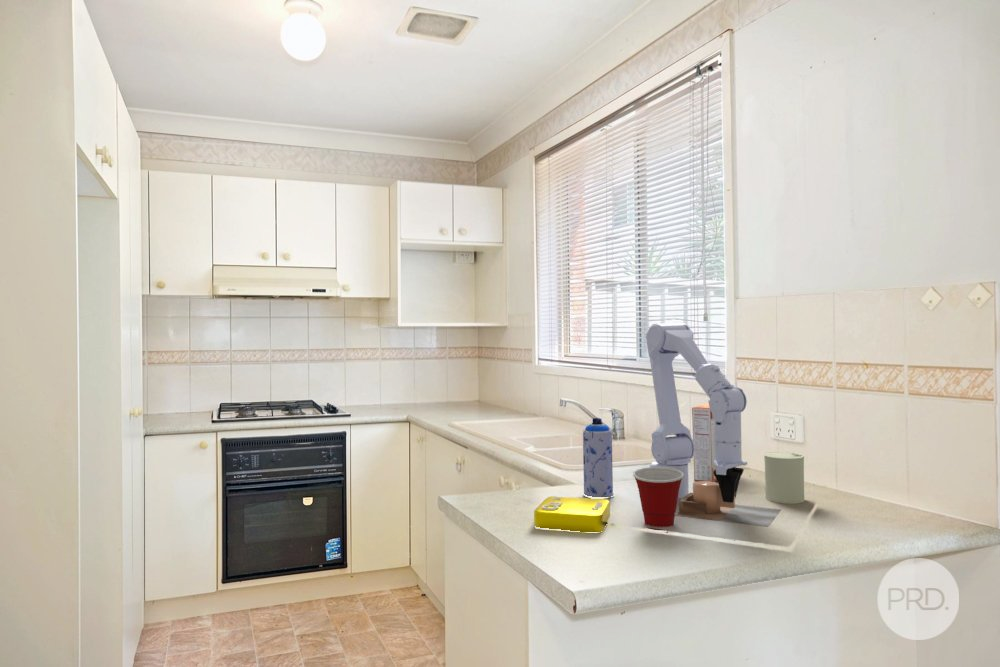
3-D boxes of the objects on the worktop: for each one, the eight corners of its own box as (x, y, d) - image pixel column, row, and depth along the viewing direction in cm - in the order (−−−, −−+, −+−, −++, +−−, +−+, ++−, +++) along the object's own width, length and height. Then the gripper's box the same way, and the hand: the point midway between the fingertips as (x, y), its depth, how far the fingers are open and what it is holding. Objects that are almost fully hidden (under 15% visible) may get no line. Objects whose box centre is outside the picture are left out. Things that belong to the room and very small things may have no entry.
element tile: (601, 536, 149) (601, 513, 149) (532, 531, 153) (531, 509, 153) (611, 517, 163) (611, 497, 163) (547, 514, 167) (547, 493, 167)
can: (809, 507, 168) (808, 456, 167) (768, 506, 169) (767, 456, 169) (800, 498, 177) (799, 450, 177) (761, 497, 178) (760, 449, 178)
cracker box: (709, 472, 210) (708, 401, 210) (730, 474, 207) (728, 402, 207) (692, 480, 199) (690, 406, 199) (713, 483, 195) (712, 407, 195)
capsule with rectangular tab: (697, 505, 168) (696, 480, 168) (737, 510, 163) (737, 484, 163) (690, 511, 163) (689, 485, 163) (731, 516, 158) (731, 489, 158)
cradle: (694, 503, 173) (694, 489, 173) (781, 512, 163) (780, 498, 163) (674, 518, 160) (674, 504, 160) (768, 530, 149) (767, 514, 149)
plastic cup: (628, 531, 150) (627, 475, 150) (638, 518, 160) (637, 465, 160) (681, 536, 146) (680, 478, 146) (687, 522, 156) (687, 468, 156)
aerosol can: (585, 491, 188) (584, 416, 188) (615, 492, 186) (614, 416, 186) (580, 498, 180) (579, 419, 180) (611, 499, 178) (610, 420, 178)
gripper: (739, 447, 153) (740, 510, 153) (753, 437, 165) (754, 496, 165) (706, 445, 156) (707, 506, 157) (722, 436, 169) (723, 492, 169)
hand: (729, 500), depth 161 cm, fingers closed on capsule with rectangular tab
